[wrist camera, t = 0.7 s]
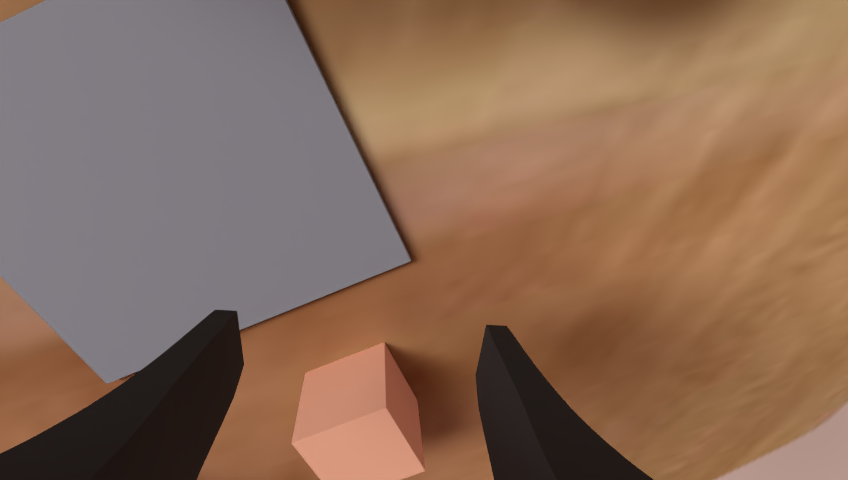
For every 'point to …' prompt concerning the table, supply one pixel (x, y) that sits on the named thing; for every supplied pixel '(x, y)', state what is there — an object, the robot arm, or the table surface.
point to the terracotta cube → (359, 420)
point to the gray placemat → (175, 173)
